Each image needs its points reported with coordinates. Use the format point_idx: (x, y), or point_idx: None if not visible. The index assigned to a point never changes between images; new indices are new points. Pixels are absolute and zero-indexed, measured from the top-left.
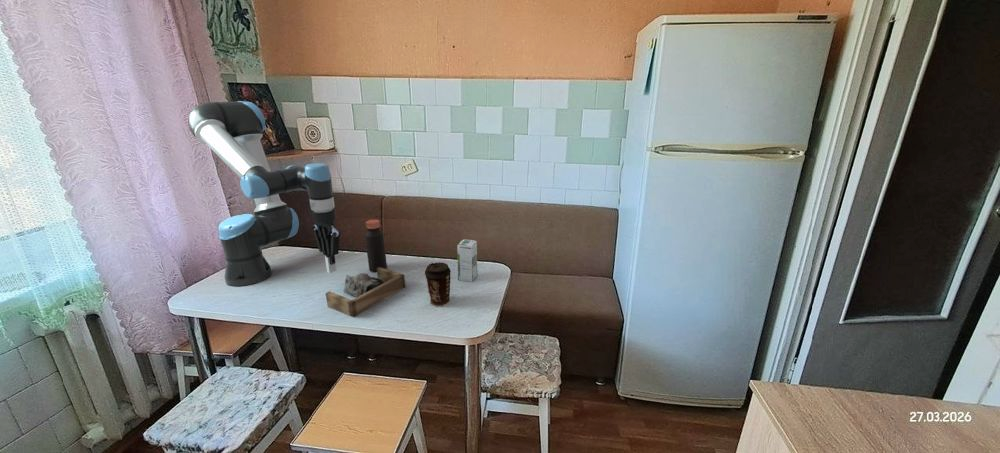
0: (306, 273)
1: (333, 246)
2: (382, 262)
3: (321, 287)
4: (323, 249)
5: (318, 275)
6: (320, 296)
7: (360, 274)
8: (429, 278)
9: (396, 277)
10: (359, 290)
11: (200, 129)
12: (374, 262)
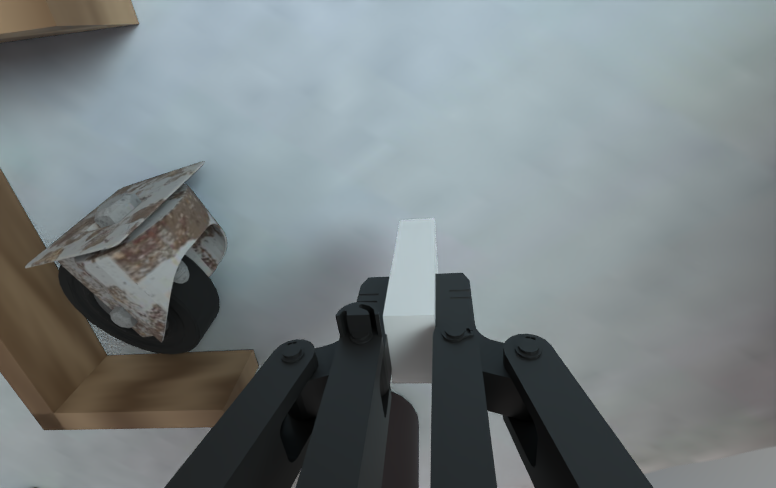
0: (747, 178)
1: (179, 477)
2: None
3: (439, 122)
4: (450, 379)
5: (626, 210)
6: (315, 40)
7: (144, 314)
8: None
9: (32, 396)
10: (91, 214)
11: None
12: None
